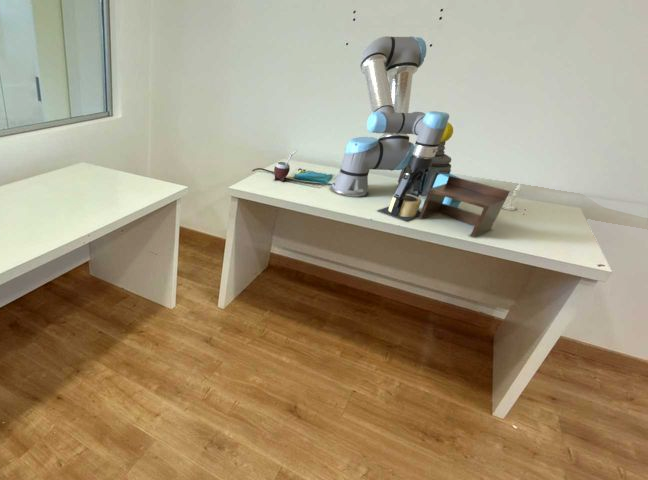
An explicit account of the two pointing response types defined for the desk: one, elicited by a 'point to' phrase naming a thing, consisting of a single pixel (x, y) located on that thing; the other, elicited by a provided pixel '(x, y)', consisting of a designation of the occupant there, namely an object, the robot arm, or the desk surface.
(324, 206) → the desk surface
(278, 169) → the mate gourd
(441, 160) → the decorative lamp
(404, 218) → the desk mat
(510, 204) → the chess piece
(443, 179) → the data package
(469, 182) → the desk shelf
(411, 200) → the tape roll
